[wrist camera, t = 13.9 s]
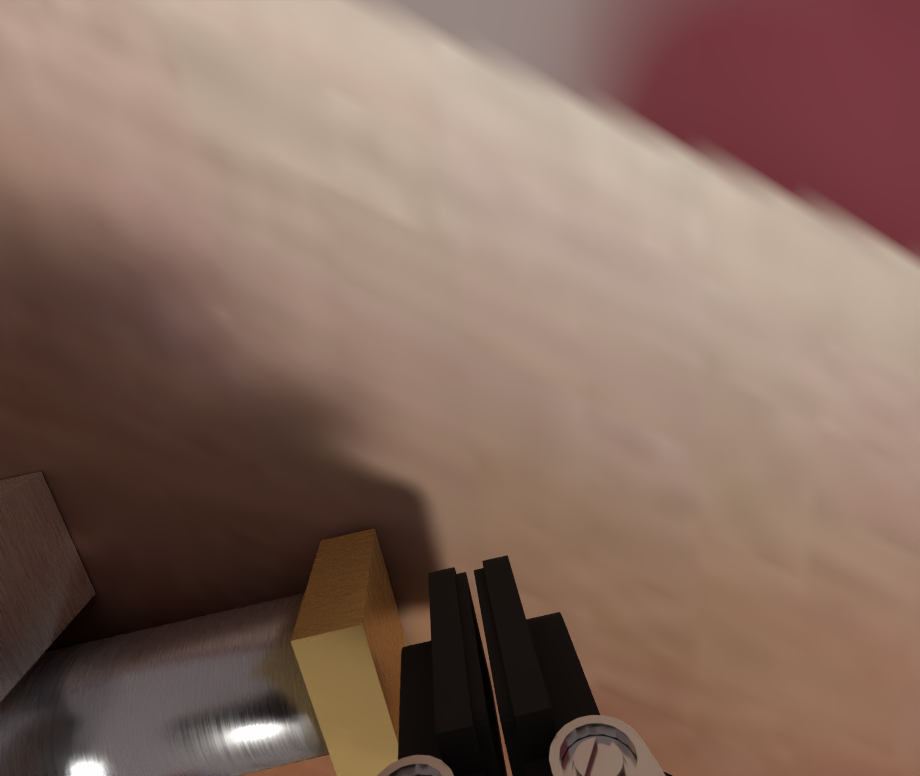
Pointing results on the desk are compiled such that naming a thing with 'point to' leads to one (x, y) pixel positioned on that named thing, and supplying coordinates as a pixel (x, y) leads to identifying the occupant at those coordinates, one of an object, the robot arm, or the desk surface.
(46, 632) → the slot housing
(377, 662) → the pin
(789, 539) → the desk surface
